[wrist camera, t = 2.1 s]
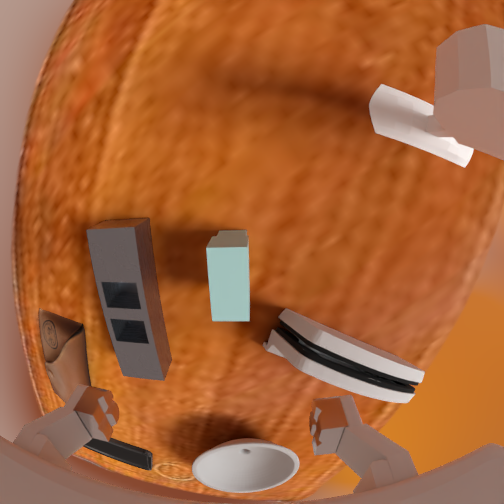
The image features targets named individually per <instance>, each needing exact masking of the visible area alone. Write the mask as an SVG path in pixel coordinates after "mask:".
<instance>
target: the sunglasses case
mask: <svg viewBox="0 0 504 504" xmlns="http://www.w3.org/2000/svg"><path fill="white" fill-rule="evenodd" d="M39 325H40V334H41V341H42V346H43V352H44V356H45V360H46V362H45V366H46V371H47V374H48V376H49V379H50V381H51V384H52V387H53V390H54V392H55V393H56V394H57V395H58V396H59V397H60V398H61V399H62V400H63V401H64V402H65V403H67V401H68V400H69V398H70V397H71V395H72V393H73V392H74V390H75V389H76V387H77V386H78V385H80V384H83V385H87V386H91V382H90V376H89V369H88V361H87V351H86V339H85V330H84V327H83V324H81V323H78V322H76V321H73V320H70V319H67V318H64V317H62V316H59V315H57V314H54V313H51V312H48V311H45V310H42V309H41V308H40V309H39Z"/></svg>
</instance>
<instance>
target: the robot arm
mask: <svg viewBox="0 0 504 504" xmlns="http://www.w3.org/2000/svg"><path fill="white" fill-rule="evenodd" d="M112 399H113V394H112V392H111V391H109V390H105V389H100V388H96V387H92V386H87V385H83V384H80V385H78V386H77V387H76V389H75V390H74V392H73V393H72V395H71V397H70V398H69V400H68V401H67V403H66V404H65V406H64V407H60V408H58V409H56V410H54V411H52V412H50V413H48V414H46V415H44V416H42V417H40V418H38V419H36V420H34V421H32V422H30V423H28V424H26V425H24V427H23V428H22V430H21V431H20V433H19V434H18V436H17V437H16V439H15V440H14V442H13V443H12V442H10V441H8V440H6V439H5V438H3V437H2V436H0V504H226V503H210V502H199V501H190V500H183V499H176V498H169V497H163V496H157V495H153V494H148V493H143V492H138V491H134V490H130V489H126V488H122V487H119V486H114V485H111V484H108V483H105V482H102V481H98V480H95V479H92V478H89V477H87V476H84V475H81V474H78V473H75V472H73V471H72V467H71V466H70V464H69V463H68V462H67V461H66V460H65V459H67V458H68V457H69V456H70V455H72V454H73V453H75V452H76V451H77V450H78V449H80V448H81V447H82V446H84V445H85V444H86V443H88V442H89V441H90V440H91V439H92V438H95V439H99V440H103V441H107V442H109V440H110V437H111V435H112V433H113V428H112V426H113V425H115V424H117V421H118V419H119V408H118V405H117V404H116V403H115V402H114V401H113V400H112ZM311 406H312V412H310V417H309V426H310V433H311V435H313V441H312V444H313V450H314V455H322V454H331V453H336V455H337V456H338V457H339V458H340V459H342V460H343V461H344V462H345V463H346V464H347V465H348V466H349V467H350V468H351V469H352V470H353V471H354V472H355V473H356V474H357V475H359V476H360V477H361V478H362V479H361V480H360V482H359V483H358V485H357V486H356V488H355V489H354V491H353V492H354V493H353V494H349V495H343V496H338V497H332V498H326V499H319V500H311V501H302V502H291V503H275V504H504V447H502V446H500V445H496V444H493V443H490V444H487V445H484V446H482V447H480V448H479V449H477V450H475V451H473V452H471V453H469V454H467V455H465V456H463V457H461V458H459V459H456V460H454V461H452V462H450V463H447V464H445V465H443V466H440V467H438V468H436V469H433V470H431V471H428V472H425V473H423V474H420V475H418V473H417V471H416V468H415V466H414V464H413V461H412V459H411V456H410V454H409V452H408V451H407V450H405V449H404V448H402V447H401V446H399V445H398V444H396V443H394V442H393V441H391V440H390V439H388V438H387V437H385V436H384V435H382V434H381V433H379V432H378V431H376V430H375V429H373V428H372V427H370V426H369V425H367V424H362V421H361V418H360V415H359V413H358V410H357V407H356V405H355V402H354V399H353V397H352V396H351V395H345V396H338V397H329V398H320V399H313V401H312V405H311Z"/></svg>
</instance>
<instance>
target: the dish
mask: <svg viewBox="0 0 504 504" xmlns="http://www.w3.org/2000/svg"><path fill="white" fill-rule="evenodd" d="M298 468H299V459H298V457H297V455H296V454H295V453H294V452H293V451H291V450H289V449H287V448H285V447H283V446H279V445H277V444H275V443H272V442H269V441H266V440H262V439H254V438H243V439H236V440H231V441H228V442H225V443H222V444H220V445H218V446H216V447H214V448H212V449H210V450H208V451H206V452H204V453H202V454H201V455H199V456H198V457H197V458H196V459H195V461H194V462H193V465H192V472H193V474H194V476H195V477H196V479H197V480H199V481H200V482H201V483H203V484H204V485H206V486H208V487H211V488H214V489H217V490H221V491H226V492H236V493H247V492H256V491H262V490H266V489H270V488H273V487H276V486H278V485H280V484H282V483H284V482H286V481H287V480H289V479H290V478H291V477H293V476H294V475H295V473H296V472H297V470H298Z"/></svg>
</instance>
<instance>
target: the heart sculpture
mask: <svg viewBox="0 0 504 504" xmlns="http://www.w3.org/2000/svg"><path fill="white" fill-rule="evenodd" d="M369 110H370V116H371V120H372V124H373V127H374V130H375V132H376V133H377V134H380V135H383V136H386V137H389V138H392V139H395V140H398V141H401V142H404V143H406V144H409V145H412V146H415V147H417V148H420V149H422V150H425V151H427V152H430V153H432V154H435V155H437V156H440V157H442V158H444V159H447V160H449V161H451V162H453V163H456V164H458V165H460V166H462V167H464V168H465V167H466V165H467V164H468V162H469V160H470V158H471V156H472V154H473V150H474V149H476V150H479V151H481V152H484V153H487V154H489V155H492V156H494V157H497V158H499V159H502V160H504V29H501V28H497V27H494V26H490V25H487V24H483V25H479V26H475V27H471V28H467V29H463V30H460V31H457V32H455V33H454V34H453V35H452V36H450V37H449V38H448V39H447V40H445V41H444V42H443V43H442V44H441V45H439V46H438V47H437V51H436V66H435V95H434V106H433V105H431V104H429V103H427V102H425V101H423V100H420V99H418V98H416V97H414V96H411V95H409V94H406V93H404V92H402V91H399V90H396V89H394V88H391V87H389V86H386V85H383V84H381V85H380V86H379V88H378V89H377V90H376V91H375V93H374V94H373V96H372V98H371V100H370V103H369Z"/></svg>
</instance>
